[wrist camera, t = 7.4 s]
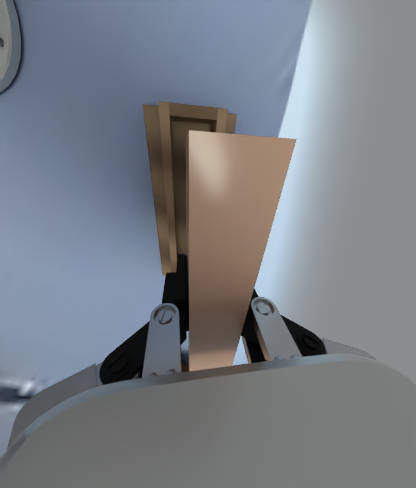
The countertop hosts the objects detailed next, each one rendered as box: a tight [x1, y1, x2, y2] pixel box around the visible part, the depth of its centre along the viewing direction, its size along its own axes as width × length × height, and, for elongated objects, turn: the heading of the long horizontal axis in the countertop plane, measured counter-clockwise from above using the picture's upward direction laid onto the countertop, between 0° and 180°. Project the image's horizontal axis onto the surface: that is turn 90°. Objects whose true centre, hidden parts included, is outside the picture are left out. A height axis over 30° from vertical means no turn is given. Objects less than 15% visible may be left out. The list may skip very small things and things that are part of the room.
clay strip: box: [186, 130, 296, 371], centre depth 11 cm, size 16×2×8 cm, turn 176°
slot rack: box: [143, 101, 236, 275], centre depth 20 cm, size 21×9×4 cm, turn 176°
